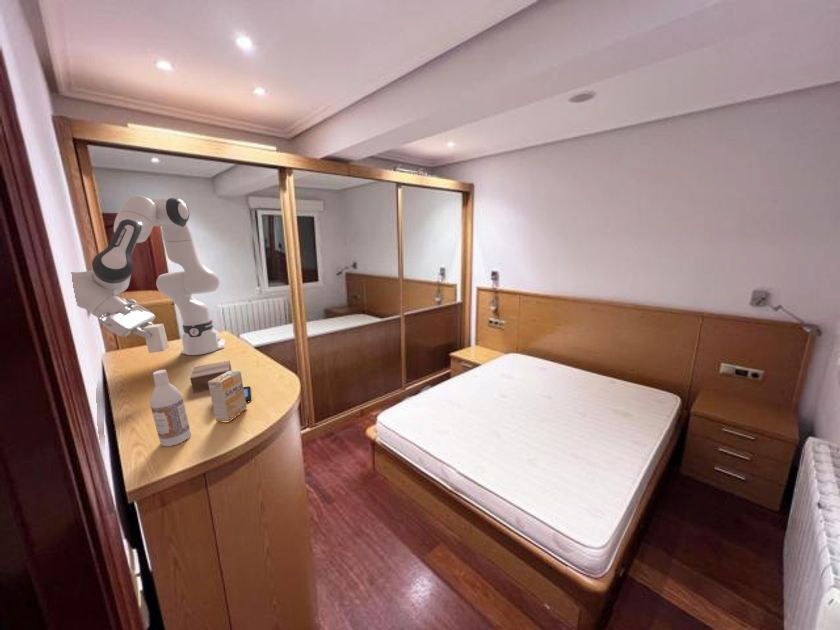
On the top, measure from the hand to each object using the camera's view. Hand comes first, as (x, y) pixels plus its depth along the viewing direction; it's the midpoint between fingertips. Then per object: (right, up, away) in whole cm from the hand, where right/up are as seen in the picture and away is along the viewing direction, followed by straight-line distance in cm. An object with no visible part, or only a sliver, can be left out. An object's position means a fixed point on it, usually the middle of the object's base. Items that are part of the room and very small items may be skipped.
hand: (154, 334), depth 122 cm
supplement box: (+36, -24, -16) cm, 47 cm away
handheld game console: (+31, -22, -5) cm, 38 cm away
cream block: (+1, -6, +1) cm, 6 cm away
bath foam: (+27, -27, -28) cm, 47 cm away
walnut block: (+16, -19, +9) cm, 26 cm away
